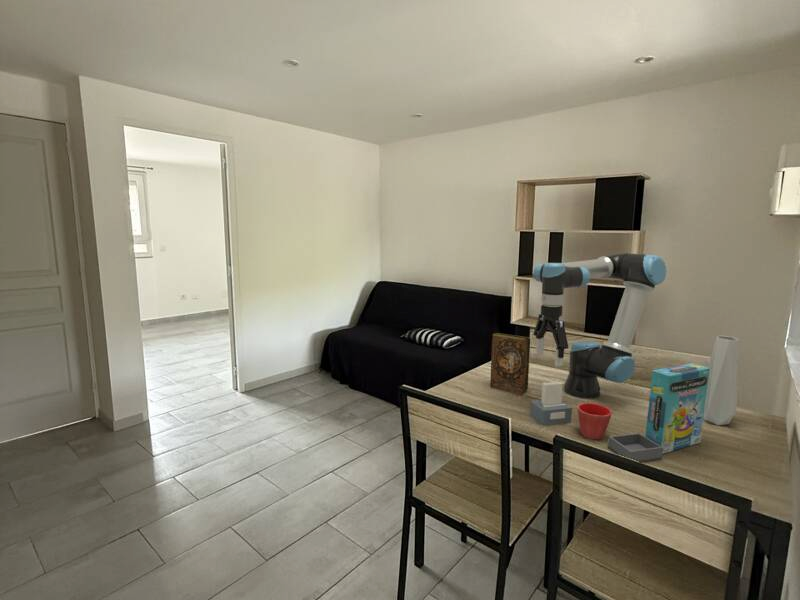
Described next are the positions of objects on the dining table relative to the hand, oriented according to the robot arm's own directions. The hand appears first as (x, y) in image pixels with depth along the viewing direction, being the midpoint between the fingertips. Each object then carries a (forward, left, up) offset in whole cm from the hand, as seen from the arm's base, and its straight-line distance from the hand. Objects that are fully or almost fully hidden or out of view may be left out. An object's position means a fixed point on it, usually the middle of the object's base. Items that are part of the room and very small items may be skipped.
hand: (548, 360), depth 160 cm
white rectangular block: (-2, +1, -21) cm, 21 cm away
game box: (-32, +27, -24) cm, 48 cm away
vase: (-63, +15, -24) cm, 69 cm away
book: (0, -31, -24) cm, 39 cm away
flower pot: (-10, +15, -24) cm, 30 cm away
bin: (-15, +29, -24) cm, 40 cm away
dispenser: (-2, +1, -24) cm, 24 cm away
